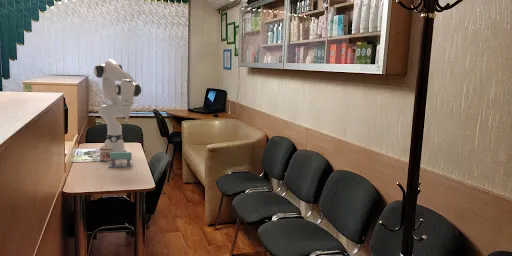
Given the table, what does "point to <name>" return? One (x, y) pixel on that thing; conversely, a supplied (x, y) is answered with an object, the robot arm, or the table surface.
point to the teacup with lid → (105, 152)
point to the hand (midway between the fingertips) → (127, 120)
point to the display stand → (120, 164)
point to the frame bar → (121, 155)
